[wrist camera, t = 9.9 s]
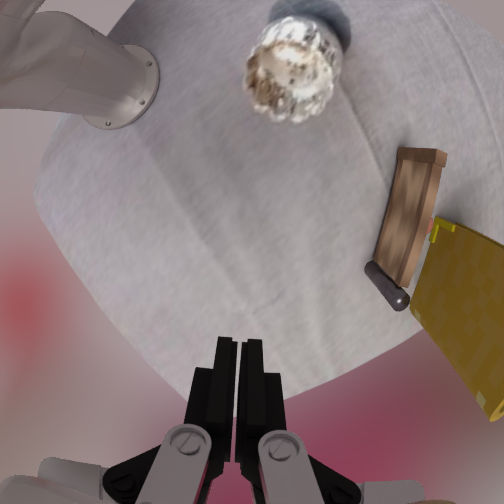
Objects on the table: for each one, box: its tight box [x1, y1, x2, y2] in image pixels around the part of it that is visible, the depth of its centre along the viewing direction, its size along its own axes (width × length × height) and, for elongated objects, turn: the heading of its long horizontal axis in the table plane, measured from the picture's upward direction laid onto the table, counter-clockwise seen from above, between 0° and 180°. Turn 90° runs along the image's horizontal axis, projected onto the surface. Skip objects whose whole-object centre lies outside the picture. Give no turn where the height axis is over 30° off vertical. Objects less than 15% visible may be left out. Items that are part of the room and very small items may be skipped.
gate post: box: [365, 261, 410, 311], centre depth 33 cm, size 2×2×10 cm
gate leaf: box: [373, 147, 447, 288], centre depth 30 cm, size 16×2×9 cm, turn 171°
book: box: [410, 216, 504, 422], centre depth 26 cm, size 17×7×25 cm, turn 172°
